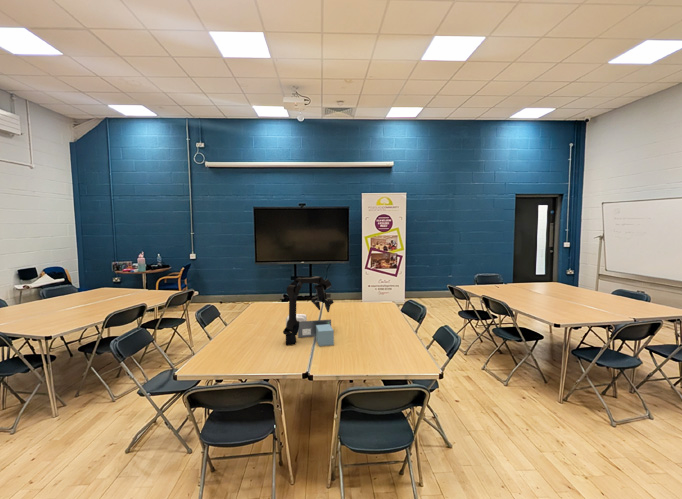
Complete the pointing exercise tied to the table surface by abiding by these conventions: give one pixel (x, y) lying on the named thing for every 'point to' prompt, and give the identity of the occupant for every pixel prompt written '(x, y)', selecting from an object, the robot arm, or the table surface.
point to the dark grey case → (310, 327)
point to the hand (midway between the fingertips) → (324, 311)
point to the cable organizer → (298, 318)
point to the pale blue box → (324, 335)
